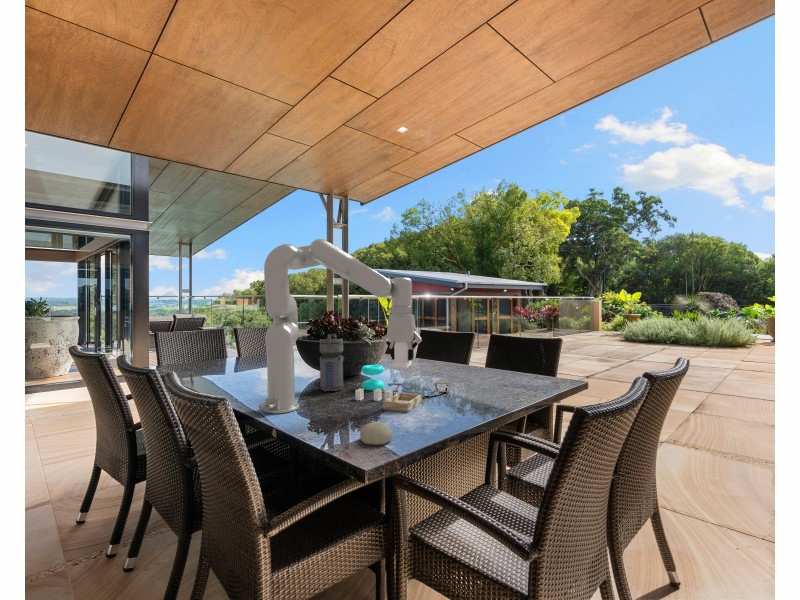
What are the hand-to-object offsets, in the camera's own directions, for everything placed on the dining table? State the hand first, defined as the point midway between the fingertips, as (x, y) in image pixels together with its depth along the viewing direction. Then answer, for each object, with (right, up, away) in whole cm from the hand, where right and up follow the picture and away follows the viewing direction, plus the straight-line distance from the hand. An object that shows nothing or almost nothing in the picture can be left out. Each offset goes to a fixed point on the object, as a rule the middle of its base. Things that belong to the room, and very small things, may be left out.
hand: (402, 359), depth 150 cm
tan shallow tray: (0, -17, 0) cm, 17 cm away
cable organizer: (0, -3, 0) cm, 3 cm away
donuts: (-13, -18, +30) cm, 37 cm away
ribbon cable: (+6, -18, +23) cm, 30 cm away
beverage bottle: (-31, -18, +29) cm, 46 cm away
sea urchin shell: (-8, -18, -36) cm, 41 cm away
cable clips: (-11, -17, +9) cm, 23 cm away
